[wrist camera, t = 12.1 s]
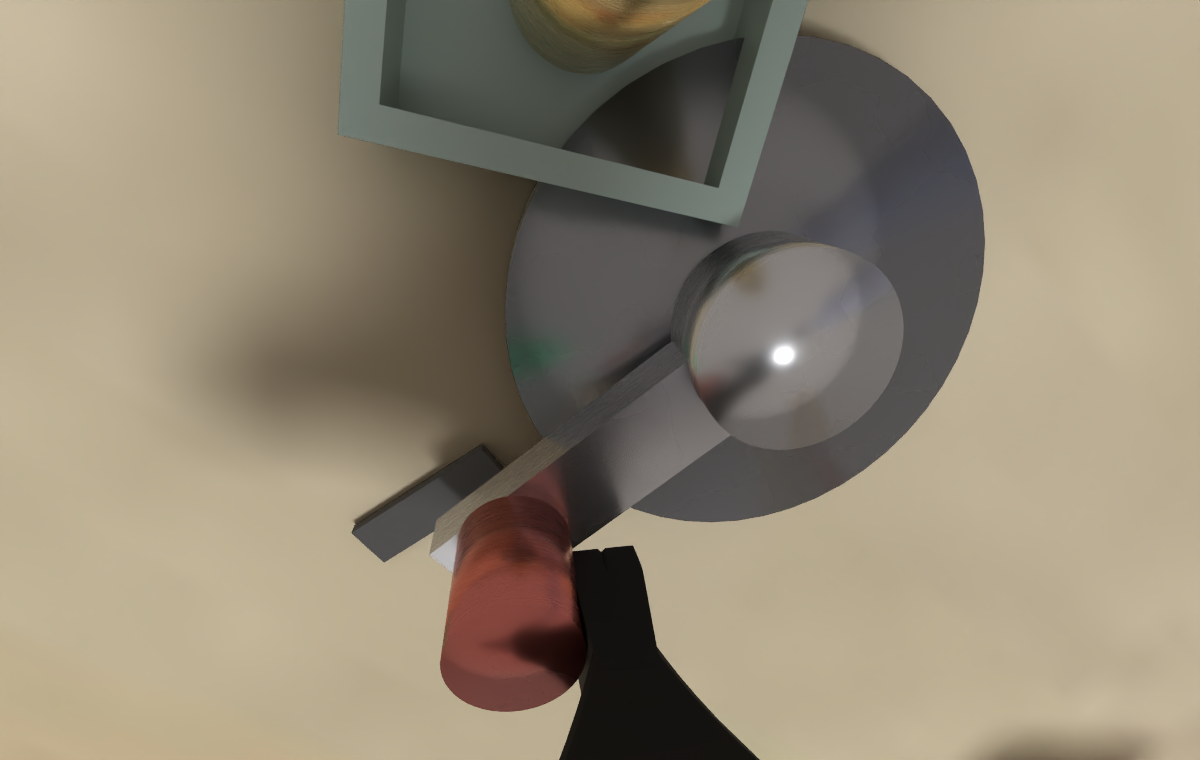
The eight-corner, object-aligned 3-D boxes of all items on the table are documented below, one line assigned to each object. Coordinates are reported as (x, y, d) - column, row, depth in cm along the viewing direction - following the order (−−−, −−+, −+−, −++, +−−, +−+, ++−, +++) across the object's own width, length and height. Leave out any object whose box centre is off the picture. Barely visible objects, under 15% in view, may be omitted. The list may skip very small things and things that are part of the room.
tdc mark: (482, 443, 14) (481, 450, 14) (511, 476, 14) (510, 482, 14) (354, 525, 14) (351, 532, 14) (386, 554, 15) (384, 562, 14)
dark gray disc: (1034, 119, 13) (1074, 118, 12) (848, 518, 16) (868, 540, 16) (558, -31, 10) (561, -49, 9) (473, 475, 14) (470, 498, 13)
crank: (793, 189, 11) (944, 214, 7) (874, 334, 13) (1035, 421, 9) (405, 490, 13) (355, 648, 9) (521, 588, 14) (524, 758, 10)
